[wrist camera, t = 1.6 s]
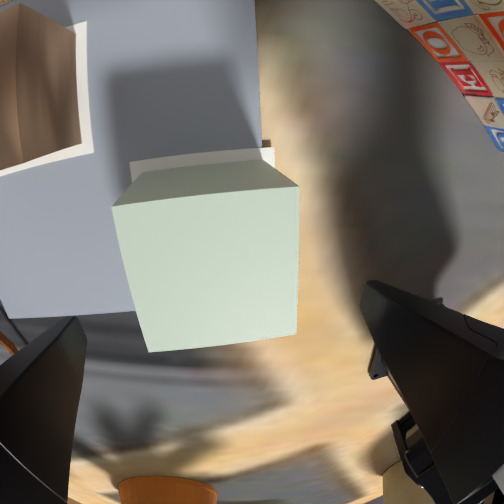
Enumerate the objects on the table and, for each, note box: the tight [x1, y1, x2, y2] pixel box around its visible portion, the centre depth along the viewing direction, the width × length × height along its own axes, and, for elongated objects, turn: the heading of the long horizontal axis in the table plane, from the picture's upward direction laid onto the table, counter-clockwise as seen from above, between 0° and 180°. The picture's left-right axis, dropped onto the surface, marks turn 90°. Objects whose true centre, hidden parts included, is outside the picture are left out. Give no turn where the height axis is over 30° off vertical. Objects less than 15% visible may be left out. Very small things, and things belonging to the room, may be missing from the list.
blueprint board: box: [0, 0, 275, 319], centre depth 13 cm, size 20×19×1 cm
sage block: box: [111, 160, 299, 352], centre depth 13 cm, size 6×6×6 cm
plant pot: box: [383, 460, 435, 504], centre depth 32 cm, size 15×15×16 cm
